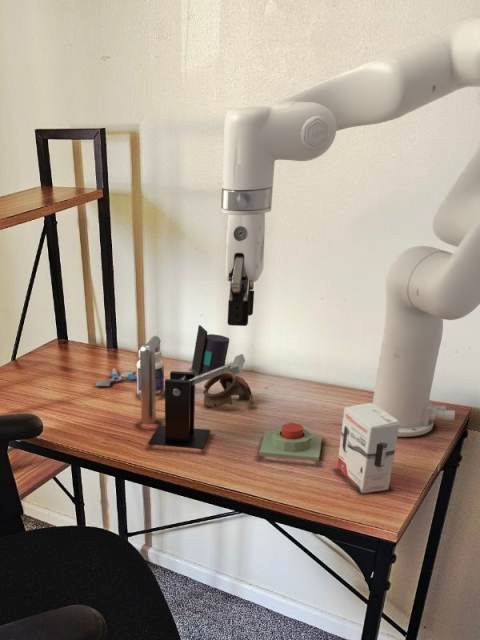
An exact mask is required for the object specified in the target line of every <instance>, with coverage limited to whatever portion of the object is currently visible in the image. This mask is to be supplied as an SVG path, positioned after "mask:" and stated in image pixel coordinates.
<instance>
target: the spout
mask: <svg viewBox="0 0 480 640" xmlns="http://www.w3.org/2000/svg"><path fill="white" fill-rule="evenodd" d="M161 343H162V341H161V338H160V337H159V336H158V335H154V336H152V337H151V338H149V340H148V341H147V342H146V343H144V344H143V345H141V347H140V348H139V350H140V358H139V360H140V378H141V395H140V411H141V413H140V416H141V418H140V419H141V423H142V424H144V425H152V424H156V422H157V405H156V404H157V403H156V402H157V401H156V399H157V396H156V389H155V353H158V352H160V350H161Z"/></svg>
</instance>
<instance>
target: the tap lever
mask: <svg viewBox="0 0 480 640" xmlns="http://www.w3.org/2000/svg"><path fill="white" fill-rule="evenodd" d="M245 362H246V359H245V356H244V354H243V353H240V354H237V355H235V356H234V359H233V361H232V362H230V363H228V364H225V366H222V367H219V368H217V369H214V370H212V371H209V372H206V373H204V374H203V373H200V375H199V376H197V375H195V377H193V378H191V379H187V377H186V376H183V377H180V378H178V379H175V380H190V381H191V386H192V385H195V386H196V385H197V384H200V383H202V382H205V381H208V380H209V379H210V378H213V377H216V376H218V375H221V374H224V373H226V372H229V371H232V374H233V375H237V374H240V373H241V372H242V370H243V367H244V364H245Z"/></svg>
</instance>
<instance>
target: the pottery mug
mask: <svg viewBox="0 0 480 640" xmlns="http://www.w3.org/2000/svg"><path fill="white" fill-rule="evenodd" d="M217 382H219V384H220V386H221V387H222V388H223V390H222V391H220V392H217V393H210V392H209V390H210V389H211V387H212V386H214V385H215V383H217ZM203 388H204V390H203V391H202V393H203V403H204V405H205V406H207V407H217V406H218V407H219V406H223V405H225V404H227V405H233V397H232V396H238V400H239V401H248V403H249V404H250V406H253V405H254V400H253V394H252V389H251V387H250V385H249V384H248V382H247V381H246V380H245V379H244V378H242V377H241V376H239V375H237V374H235V375H233V374H232V371H229V372H226V373H224V374H221V375H218V376H216V377H213V378H210V379H208V380H206V382H205V384H204V385H203Z"/></svg>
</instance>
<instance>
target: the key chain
mask: <svg viewBox="0 0 480 640" xmlns="http://www.w3.org/2000/svg"><path fill="white" fill-rule="evenodd" d="M109 376H110V377H111V378H110V379H99V380H96V382H95V384H94V386H95V387H109V386H110V385H111V383H114V382H121V381H122V380H126V379H128V380H132V381H134V380H137V375H135V374H134V372H133V371H128V370H125V371H123V372H122V373H121V374H119V373H118V371H117V369H116V368H112V373H109Z"/></svg>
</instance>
